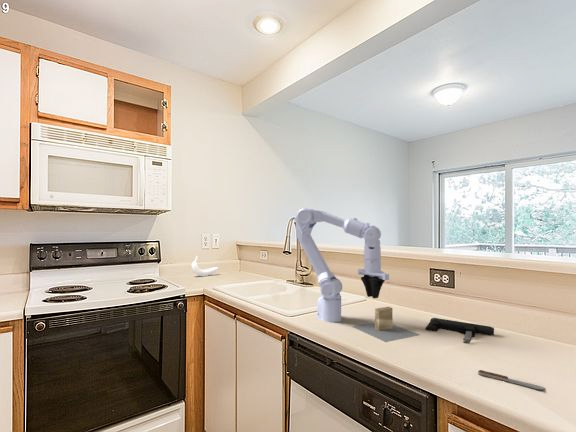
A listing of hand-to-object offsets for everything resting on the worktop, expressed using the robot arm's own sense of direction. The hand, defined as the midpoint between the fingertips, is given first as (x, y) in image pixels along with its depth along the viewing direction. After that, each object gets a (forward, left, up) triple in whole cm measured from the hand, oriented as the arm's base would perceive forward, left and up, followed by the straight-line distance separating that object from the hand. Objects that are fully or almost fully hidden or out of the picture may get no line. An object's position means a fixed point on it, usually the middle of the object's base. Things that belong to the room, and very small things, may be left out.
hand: (372, 297), depth 122 cm
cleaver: (+47, +2, -11) cm, 48 cm away
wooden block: (+6, 0, -10) cm, 11 cm away
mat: (+7, -1, -10) cm, 13 cm away
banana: (-135, -29, -11) cm, 139 cm away
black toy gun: (+19, +20, -11) cm, 30 cm away
